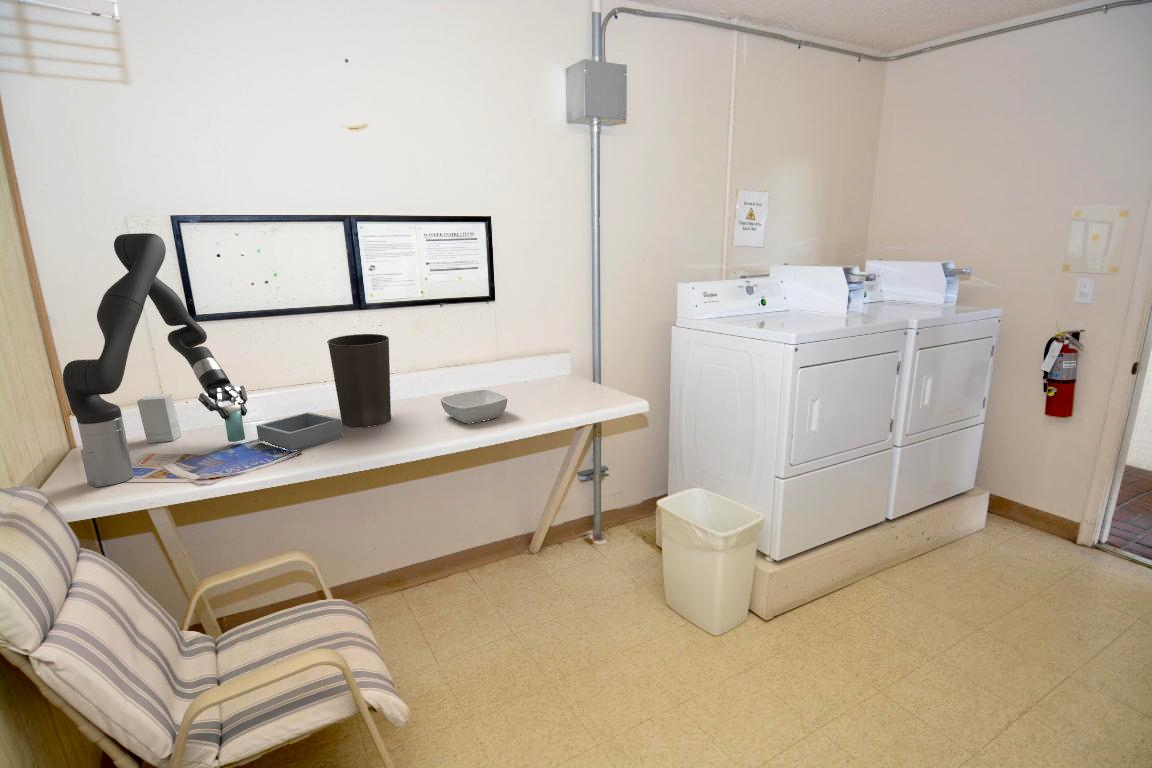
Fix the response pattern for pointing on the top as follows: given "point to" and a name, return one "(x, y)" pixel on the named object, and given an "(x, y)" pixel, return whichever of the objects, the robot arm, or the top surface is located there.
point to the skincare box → (159, 418)
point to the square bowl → (474, 405)
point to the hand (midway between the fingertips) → (236, 416)
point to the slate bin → (300, 431)
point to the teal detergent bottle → (234, 423)
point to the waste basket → (362, 378)
